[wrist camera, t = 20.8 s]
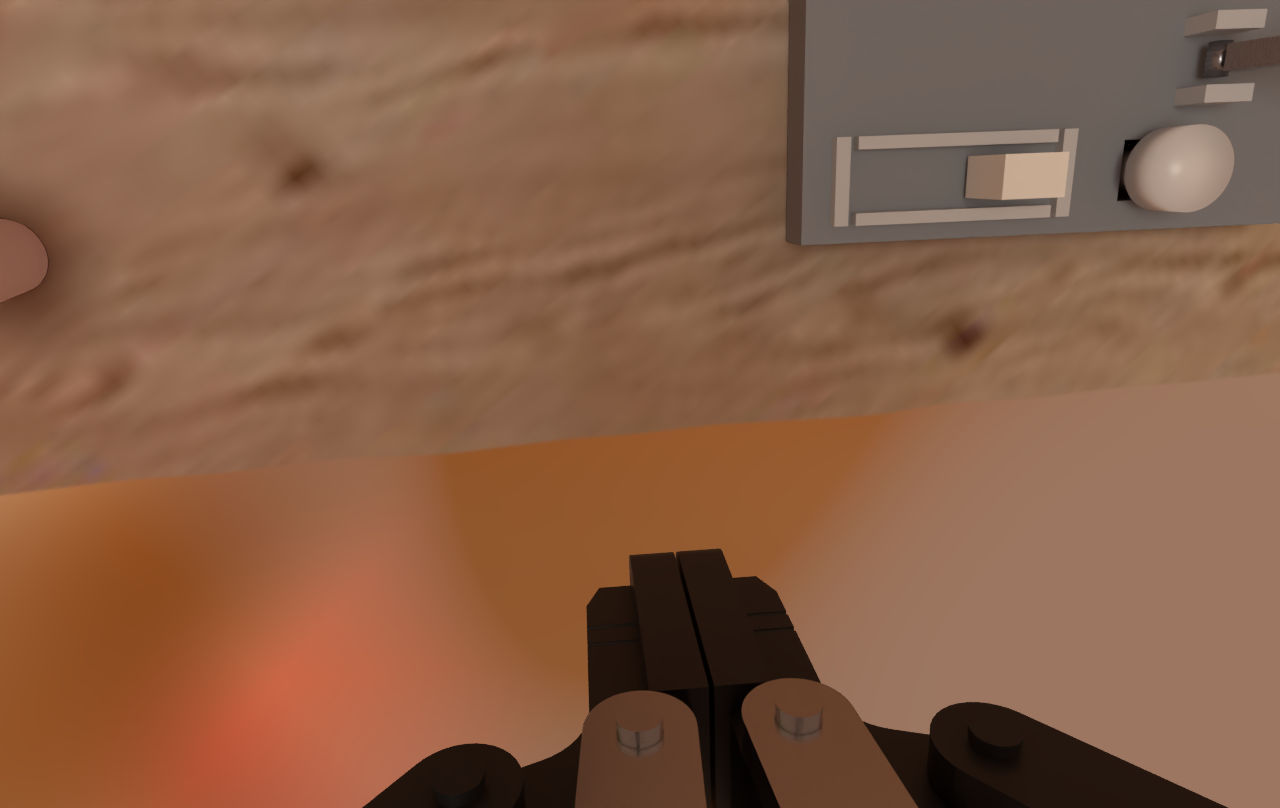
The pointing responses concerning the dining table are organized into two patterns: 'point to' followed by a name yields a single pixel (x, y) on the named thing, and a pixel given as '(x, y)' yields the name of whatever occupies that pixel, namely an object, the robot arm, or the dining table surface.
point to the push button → (1178, 168)
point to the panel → (1013, 112)
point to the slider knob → (1017, 176)
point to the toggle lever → (1241, 56)
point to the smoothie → (20, 259)
